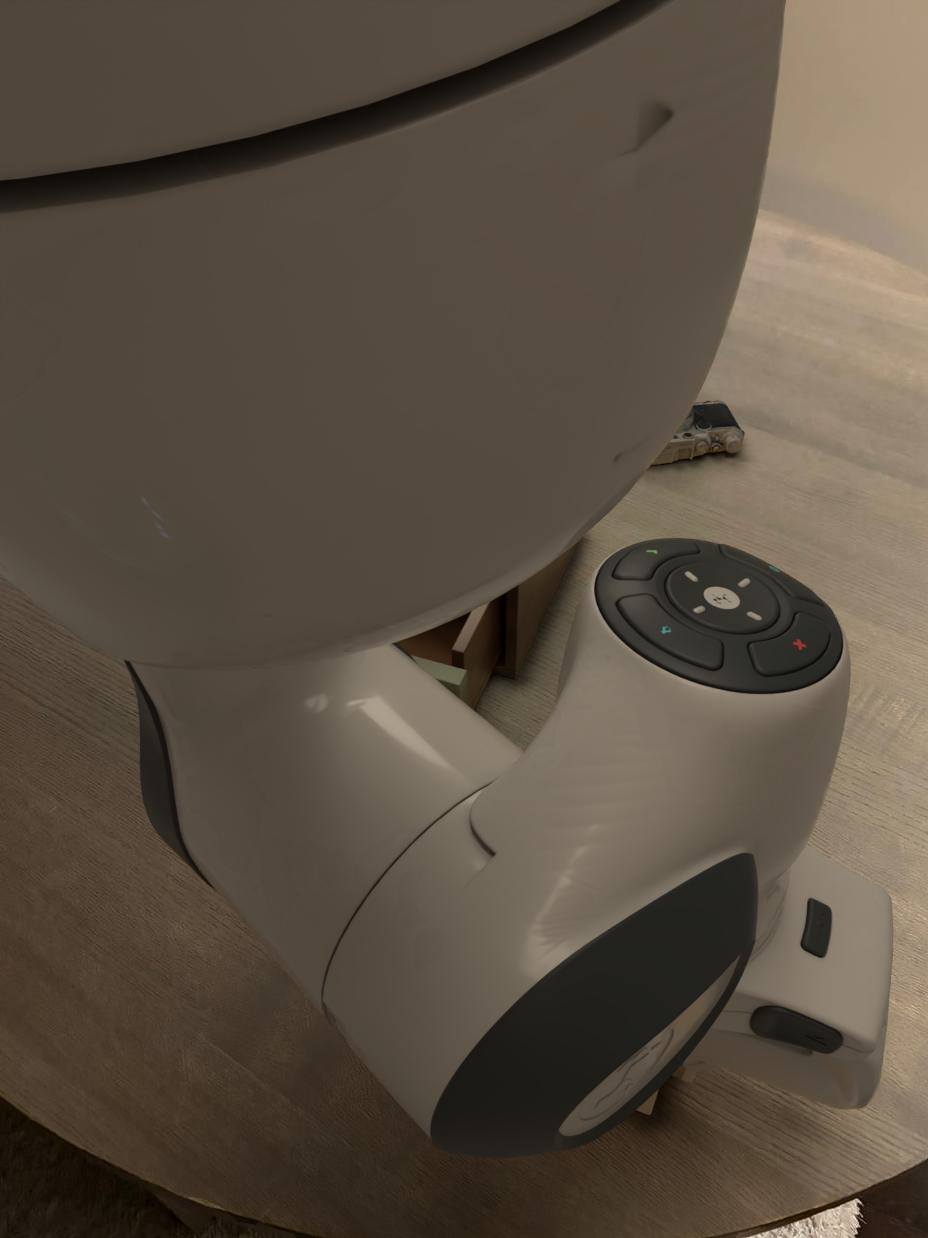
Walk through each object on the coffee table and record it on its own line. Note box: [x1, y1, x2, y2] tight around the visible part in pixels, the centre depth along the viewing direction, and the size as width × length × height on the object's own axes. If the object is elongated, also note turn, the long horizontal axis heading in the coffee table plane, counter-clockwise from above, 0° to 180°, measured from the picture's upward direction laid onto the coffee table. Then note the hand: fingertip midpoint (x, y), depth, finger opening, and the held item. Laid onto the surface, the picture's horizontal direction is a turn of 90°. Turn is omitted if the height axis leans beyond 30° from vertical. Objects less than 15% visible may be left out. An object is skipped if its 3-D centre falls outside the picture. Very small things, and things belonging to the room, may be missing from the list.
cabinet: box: [491, 541, 579, 680], centre depth 71 cm, size 15×13×9 cm
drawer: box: [397, 593, 506, 711], centre depth 64 cm, size 18×11×7 cm, turn 159°
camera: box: [650, 399, 745, 466], centre depth 84 cm, size 5×10×4 cm, turn 98°
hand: (620, 1041), depth 50 cm, fingers closed on block, 4 cm apart
